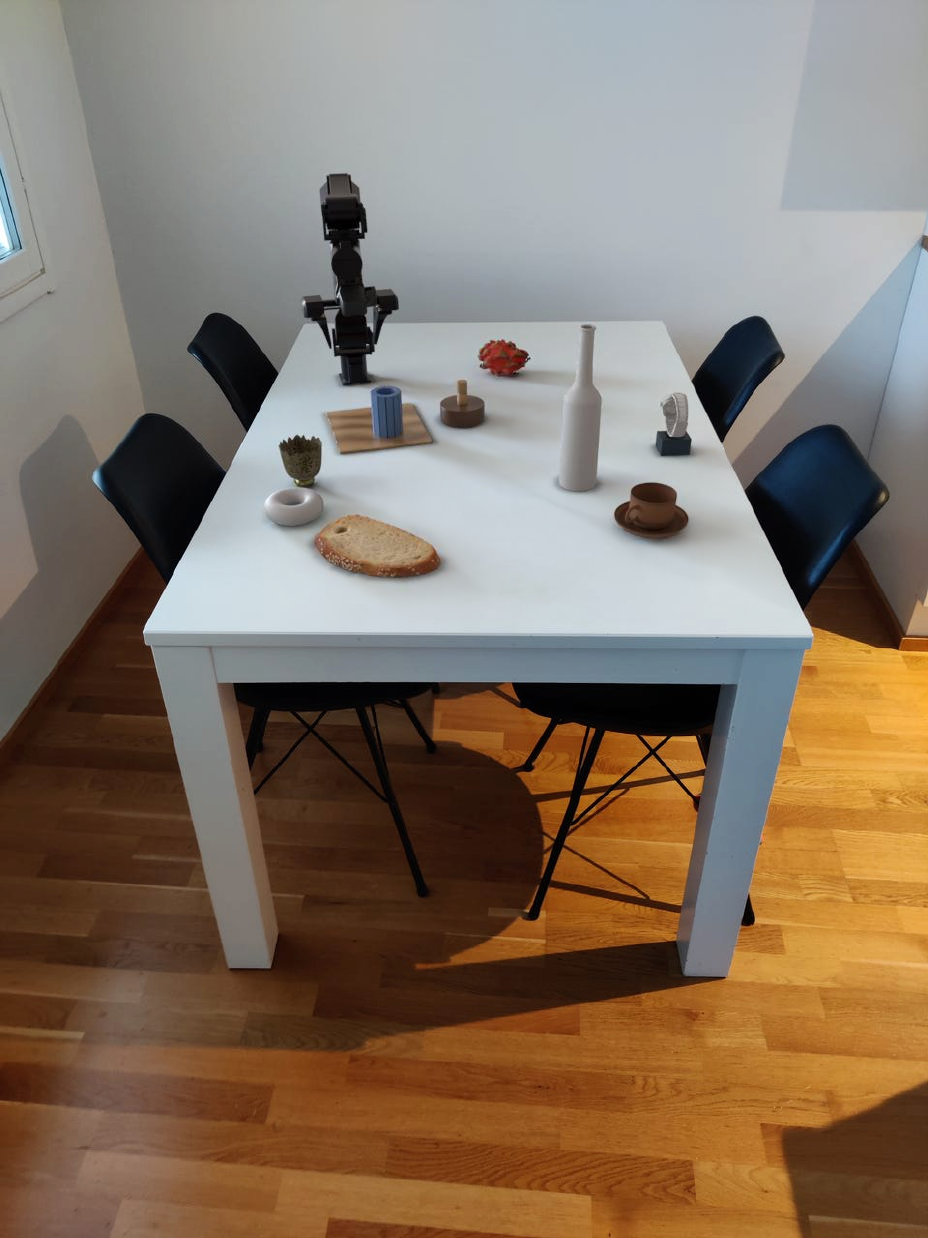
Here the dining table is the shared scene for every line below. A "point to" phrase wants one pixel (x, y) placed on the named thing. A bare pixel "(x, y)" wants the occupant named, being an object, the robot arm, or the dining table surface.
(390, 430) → the sleeve
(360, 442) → the wooden board
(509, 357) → the dragon fruit
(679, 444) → the watch
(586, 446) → the bottle
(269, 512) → the donut
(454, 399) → the stand
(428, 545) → the bread slice
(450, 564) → the dining table surface
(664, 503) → the cup and saucer
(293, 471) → the cup
